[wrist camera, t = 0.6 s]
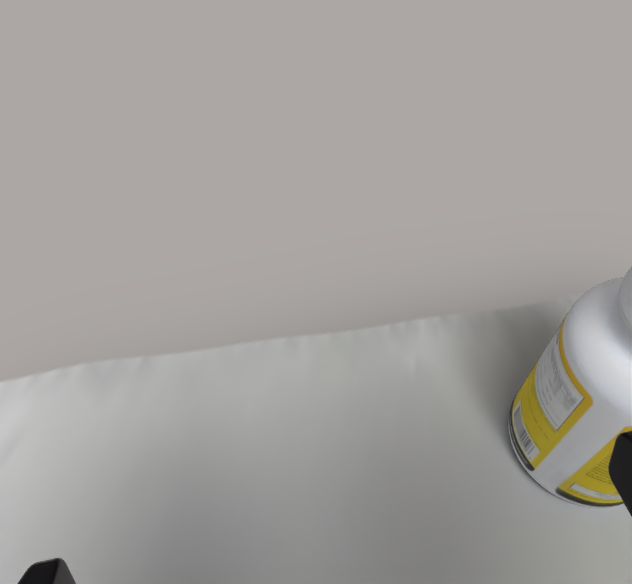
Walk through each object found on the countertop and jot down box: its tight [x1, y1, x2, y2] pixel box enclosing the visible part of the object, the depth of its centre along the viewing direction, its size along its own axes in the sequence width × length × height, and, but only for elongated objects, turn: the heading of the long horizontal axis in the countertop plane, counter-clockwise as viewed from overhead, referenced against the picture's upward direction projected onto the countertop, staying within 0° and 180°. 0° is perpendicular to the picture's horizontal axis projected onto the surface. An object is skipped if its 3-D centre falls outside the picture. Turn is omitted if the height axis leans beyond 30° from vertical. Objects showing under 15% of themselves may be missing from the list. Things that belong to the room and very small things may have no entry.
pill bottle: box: [508, 267, 632, 508], centre depth 22 cm, size 6×6×12 cm
